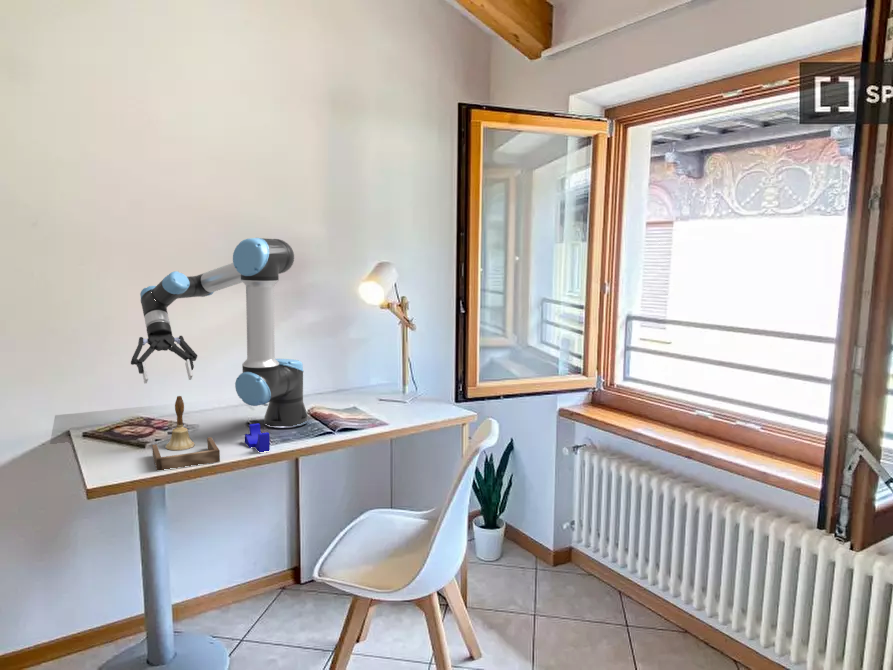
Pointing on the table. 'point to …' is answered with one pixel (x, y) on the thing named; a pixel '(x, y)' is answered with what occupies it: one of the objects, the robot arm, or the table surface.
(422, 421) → the table surface
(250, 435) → the cable clip
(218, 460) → the walnut corral
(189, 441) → the hand bell
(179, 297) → the robot arm
